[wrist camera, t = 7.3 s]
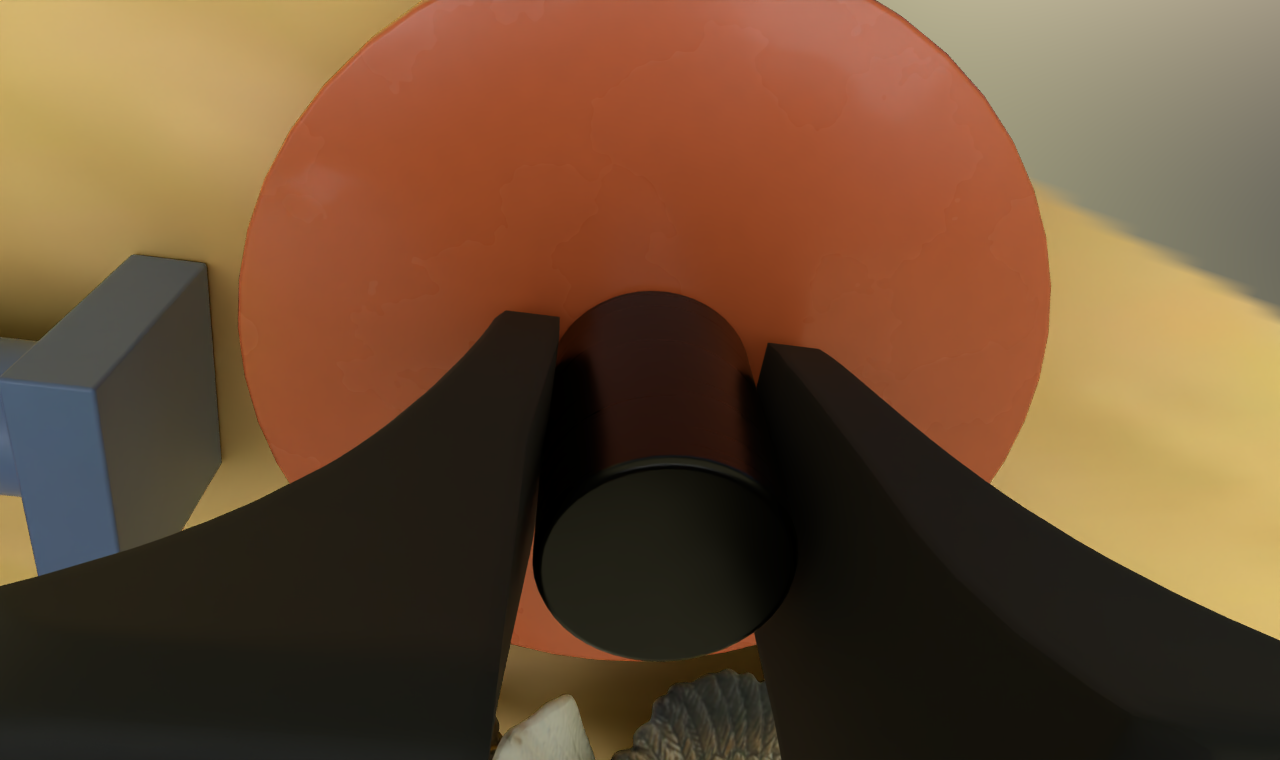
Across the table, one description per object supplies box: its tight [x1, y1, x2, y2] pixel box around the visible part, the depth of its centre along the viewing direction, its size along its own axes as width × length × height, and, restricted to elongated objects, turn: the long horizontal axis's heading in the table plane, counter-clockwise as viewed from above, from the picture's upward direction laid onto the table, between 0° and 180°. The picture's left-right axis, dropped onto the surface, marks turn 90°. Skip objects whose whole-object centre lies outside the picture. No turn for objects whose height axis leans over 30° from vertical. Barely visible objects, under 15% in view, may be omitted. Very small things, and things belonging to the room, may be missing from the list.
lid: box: [238, 0, 1051, 662], centre depth 10 cm, size 10×10×4 cm
